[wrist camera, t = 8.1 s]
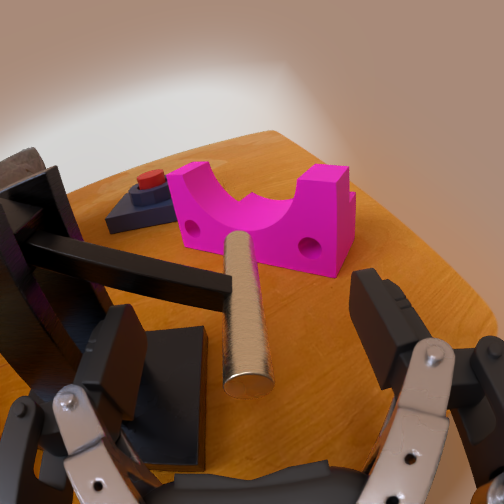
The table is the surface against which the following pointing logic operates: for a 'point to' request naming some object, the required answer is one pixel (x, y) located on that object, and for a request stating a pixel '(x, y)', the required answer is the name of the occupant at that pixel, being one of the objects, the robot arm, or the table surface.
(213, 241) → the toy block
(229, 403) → the table surface
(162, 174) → the button
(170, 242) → the table surface
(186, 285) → the lever
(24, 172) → the bowl
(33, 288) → the bracket
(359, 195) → the table surface
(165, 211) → the button box
